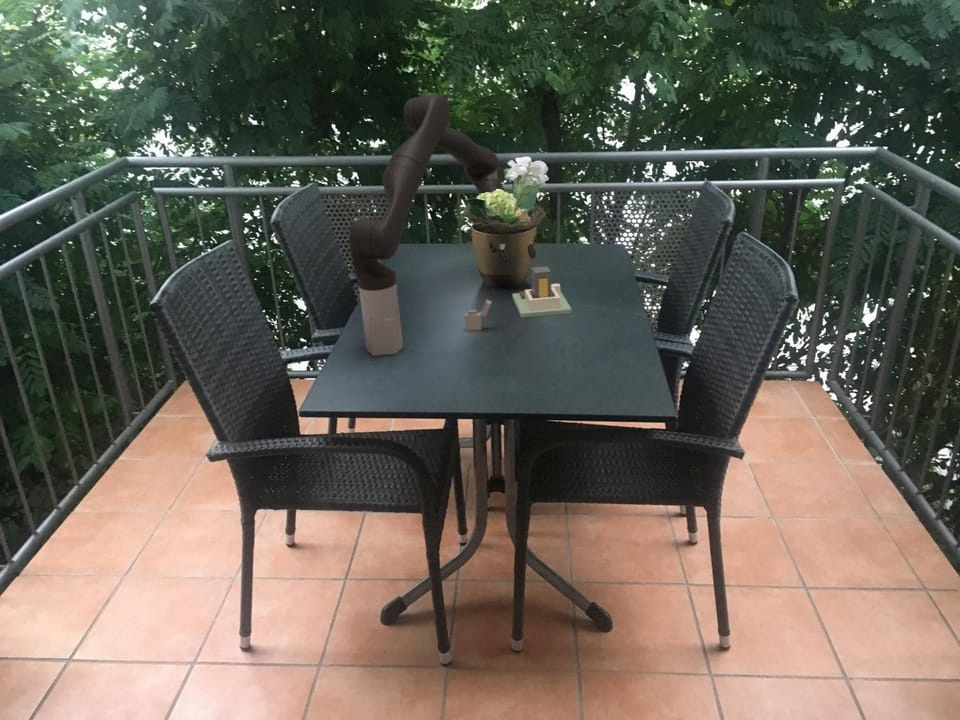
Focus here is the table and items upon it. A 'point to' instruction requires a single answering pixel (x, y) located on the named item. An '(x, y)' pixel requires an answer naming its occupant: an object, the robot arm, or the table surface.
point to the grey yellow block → (541, 282)
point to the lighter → (476, 317)
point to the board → (541, 303)
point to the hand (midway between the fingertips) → (520, 260)
